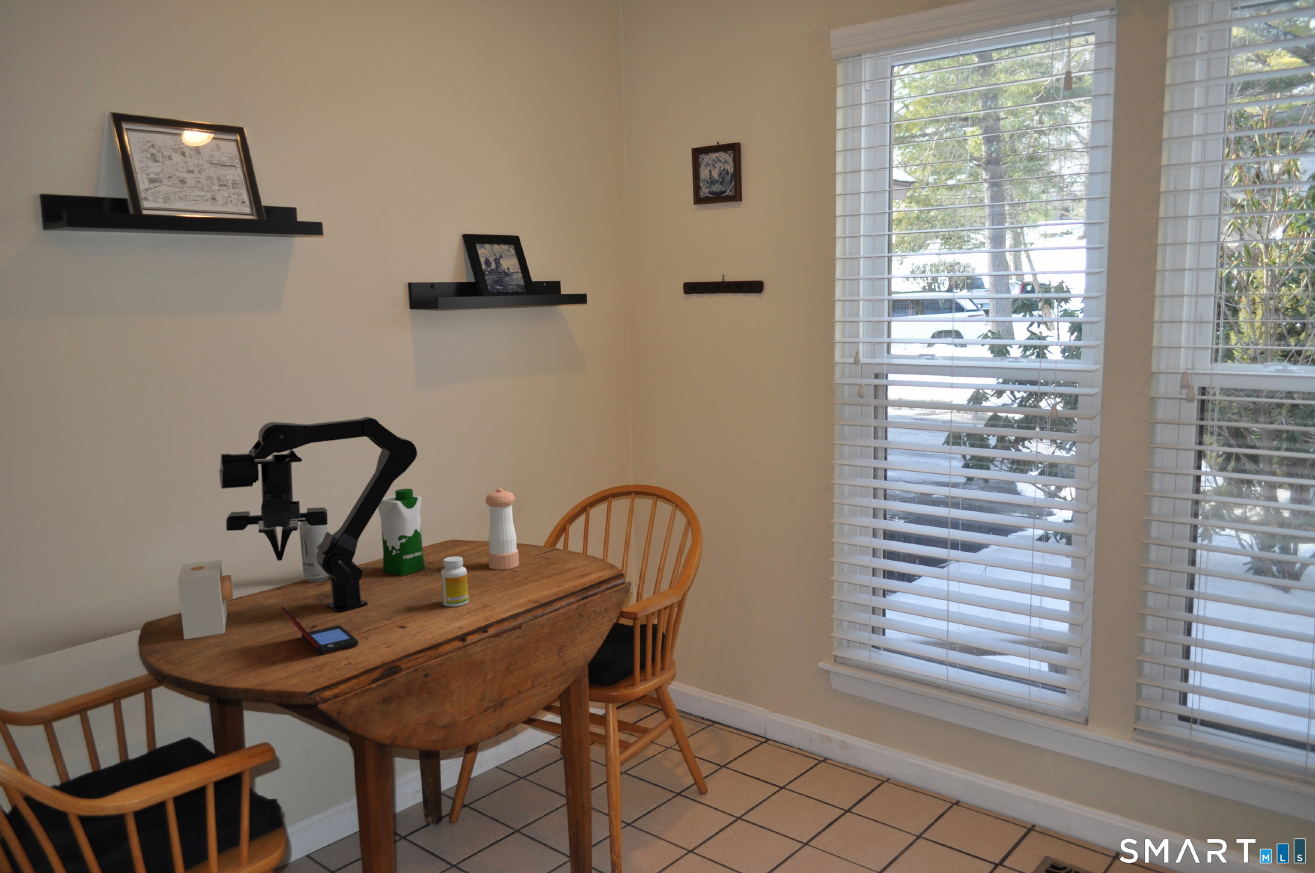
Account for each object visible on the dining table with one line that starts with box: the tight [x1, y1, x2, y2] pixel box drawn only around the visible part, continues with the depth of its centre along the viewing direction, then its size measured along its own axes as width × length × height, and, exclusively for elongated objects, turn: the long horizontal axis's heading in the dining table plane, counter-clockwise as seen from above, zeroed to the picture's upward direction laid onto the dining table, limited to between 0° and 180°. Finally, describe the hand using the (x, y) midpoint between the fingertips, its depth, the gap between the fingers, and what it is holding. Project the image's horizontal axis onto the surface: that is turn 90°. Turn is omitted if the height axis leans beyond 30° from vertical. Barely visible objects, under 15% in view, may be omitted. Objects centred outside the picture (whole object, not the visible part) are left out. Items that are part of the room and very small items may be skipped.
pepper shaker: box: [485, 487, 520, 570], centre depth 215 cm, size 7×7×19 cm
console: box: [177, 559, 228, 640], centre depth 178 cm, size 7×12×12 cm, turn 24°
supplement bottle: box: [440, 556, 470, 608], centre depth 188 cm, size 5×5×10 cm
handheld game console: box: [280, 606, 359, 656], centre depth 166 cm, size 12×11×7 cm
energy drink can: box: [298, 522, 330, 583], centre depth 209 cm, size 6×6×15 cm
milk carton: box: [377, 488, 426, 577], centre depth 214 cm, size 9×9×20 cm
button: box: [220, 574, 234, 602], centre depth 179 cm, size 4×5×5 cm
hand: (279, 560), depth 181 cm, fingers closed
